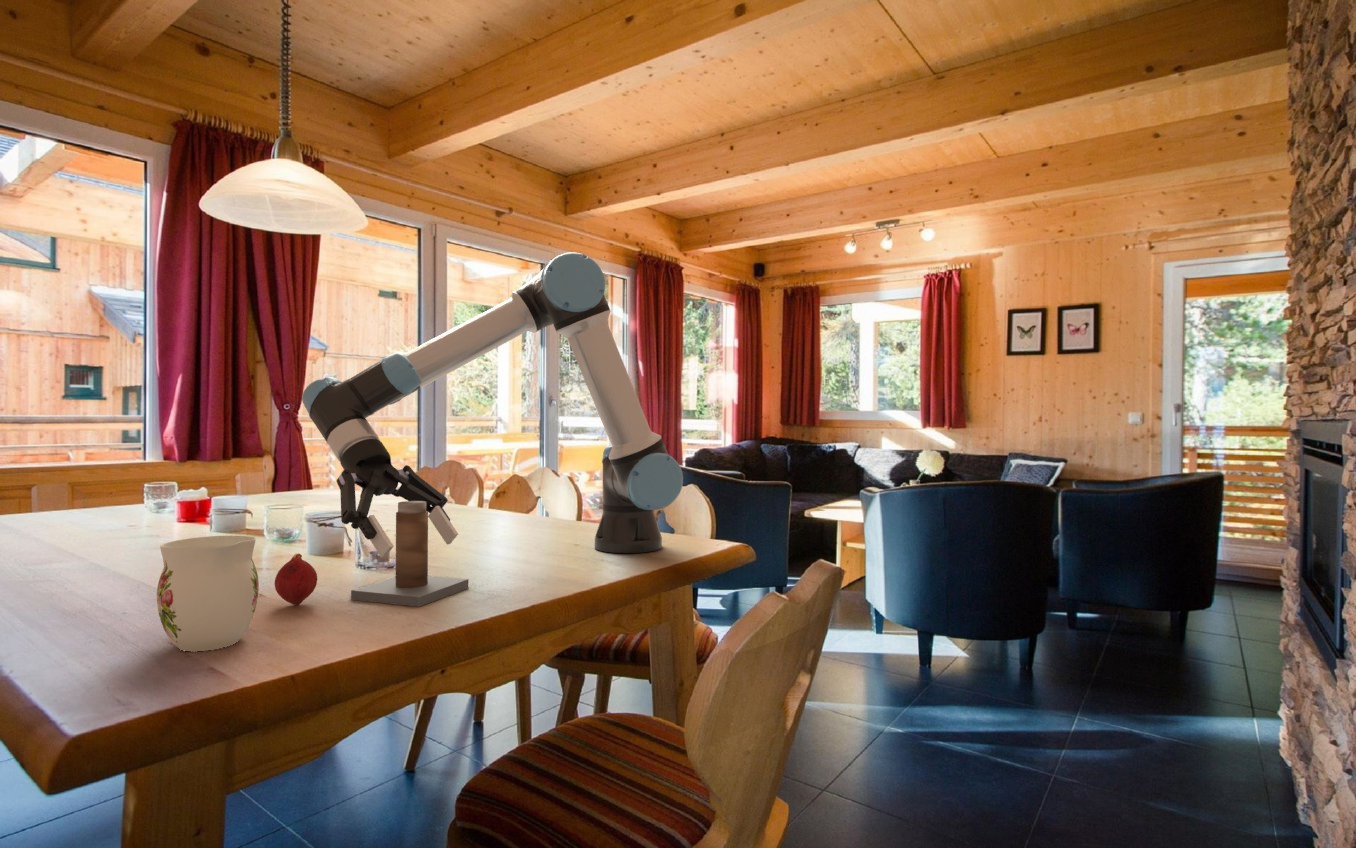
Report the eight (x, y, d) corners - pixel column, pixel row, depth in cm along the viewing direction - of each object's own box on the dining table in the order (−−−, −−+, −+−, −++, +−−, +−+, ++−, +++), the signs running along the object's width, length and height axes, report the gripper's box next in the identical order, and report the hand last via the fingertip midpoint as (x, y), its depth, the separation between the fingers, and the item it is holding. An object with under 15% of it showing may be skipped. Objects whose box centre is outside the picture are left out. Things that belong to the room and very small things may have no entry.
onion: (304, 610, 109) (304, 557, 109) (266, 610, 109) (266, 557, 109) (324, 600, 115) (324, 550, 115) (288, 600, 115) (288, 550, 115)
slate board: (405, 582, 128) (405, 573, 128) (468, 587, 124) (468, 579, 124) (351, 599, 116) (351, 590, 116) (419, 606, 112) (419, 597, 112)
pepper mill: (409, 580, 123) (409, 500, 123) (433, 582, 122) (434, 501, 121) (388, 586, 118) (389, 503, 118) (414, 588, 117) (414, 504, 117)
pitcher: (236, 619, 104) (236, 524, 104) (275, 648, 91) (275, 540, 91) (142, 635, 96) (142, 533, 96) (171, 670, 84) (171, 551, 84)
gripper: (407, 462, 138) (465, 548, 131) (282, 470, 116) (344, 574, 109) (427, 435, 135) (487, 521, 128) (303, 438, 113) (368, 542, 106)
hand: (421, 545), depth 119 cm, fingers open, 13 cm apart
